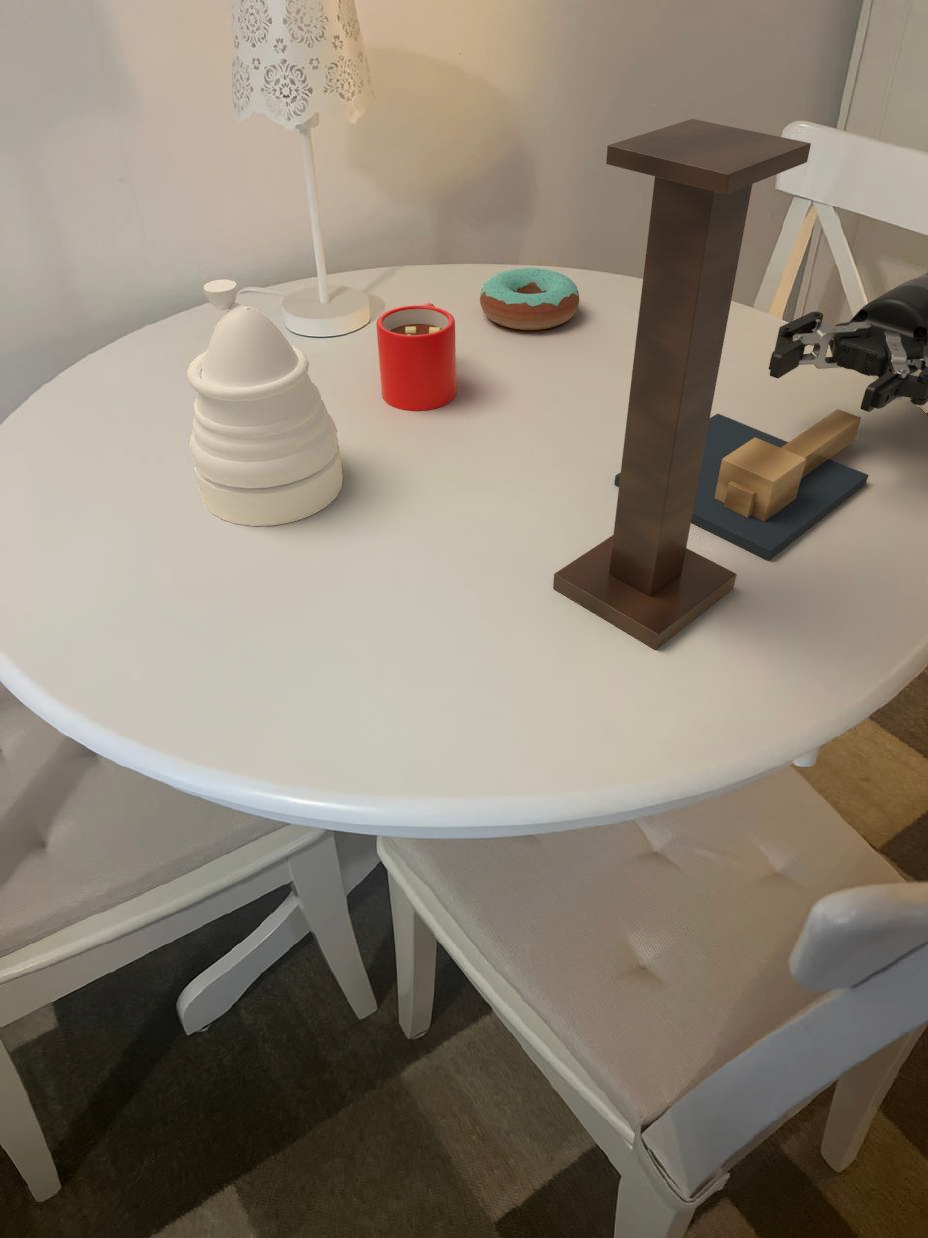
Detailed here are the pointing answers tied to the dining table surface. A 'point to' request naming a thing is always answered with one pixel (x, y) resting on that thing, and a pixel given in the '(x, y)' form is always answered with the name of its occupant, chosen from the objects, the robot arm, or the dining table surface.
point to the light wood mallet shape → (780, 466)
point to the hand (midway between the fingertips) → (819, 383)
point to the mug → (417, 357)
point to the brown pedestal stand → (675, 373)
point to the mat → (781, 529)
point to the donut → (529, 298)
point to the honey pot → (259, 422)
